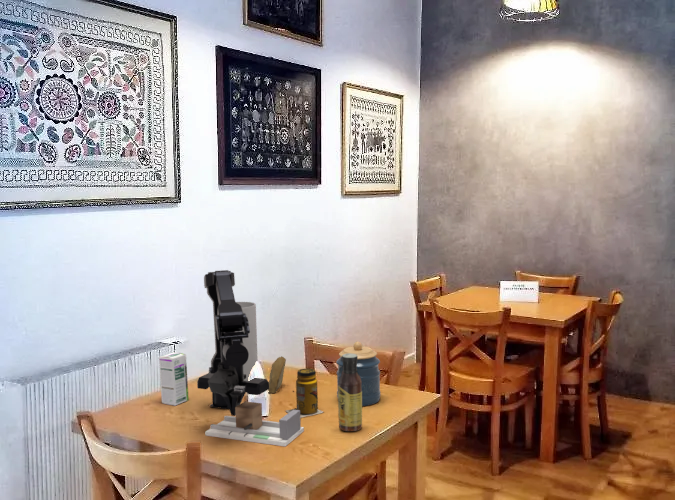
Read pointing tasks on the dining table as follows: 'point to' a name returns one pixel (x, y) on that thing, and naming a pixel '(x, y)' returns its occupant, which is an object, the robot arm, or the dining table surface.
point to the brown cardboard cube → (249, 415)
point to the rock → (276, 374)
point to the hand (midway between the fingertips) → (233, 415)
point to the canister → (364, 372)
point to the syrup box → (173, 378)
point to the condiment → (306, 393)
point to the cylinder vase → (250, 336)
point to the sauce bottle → (350, 395)
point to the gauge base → (261, 430)
